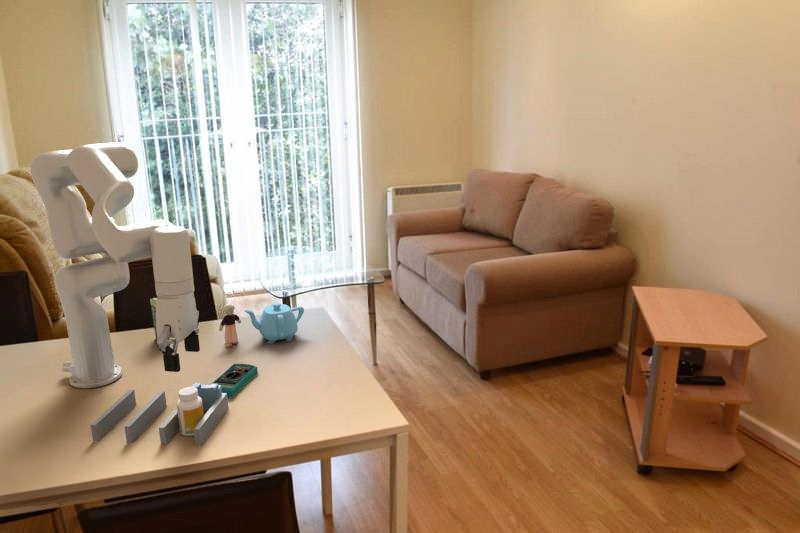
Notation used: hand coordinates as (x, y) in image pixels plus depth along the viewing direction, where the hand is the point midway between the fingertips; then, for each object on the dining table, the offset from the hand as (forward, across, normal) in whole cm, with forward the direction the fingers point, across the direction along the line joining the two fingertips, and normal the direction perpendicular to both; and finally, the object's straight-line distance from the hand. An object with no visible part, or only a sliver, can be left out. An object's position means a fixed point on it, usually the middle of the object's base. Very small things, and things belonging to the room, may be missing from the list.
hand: (183, 360), depth 130 cm
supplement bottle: (+17, 0, +1) cm, 17 cm away
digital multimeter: (+18, -22, +2) cm, 28 cm away
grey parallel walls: (+17, -2, -7) cm, 18 cm away
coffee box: (+18, -48, -30) cm, 59 cm away
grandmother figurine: (+18, -48, -8) cm, 51 cm away
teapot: (+18, -52, +4) cm, 56 cm away
